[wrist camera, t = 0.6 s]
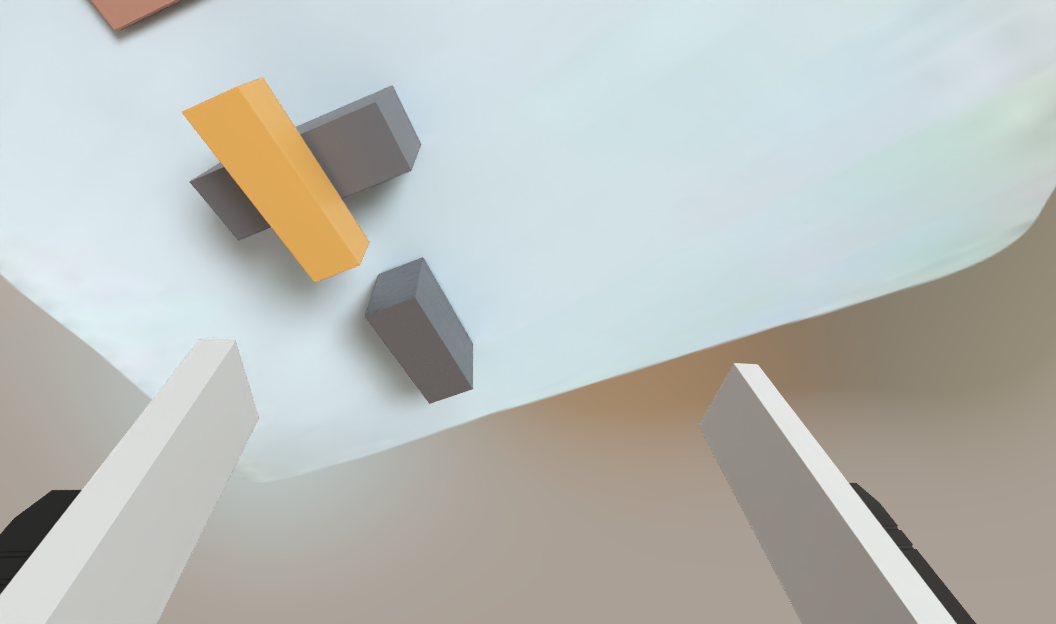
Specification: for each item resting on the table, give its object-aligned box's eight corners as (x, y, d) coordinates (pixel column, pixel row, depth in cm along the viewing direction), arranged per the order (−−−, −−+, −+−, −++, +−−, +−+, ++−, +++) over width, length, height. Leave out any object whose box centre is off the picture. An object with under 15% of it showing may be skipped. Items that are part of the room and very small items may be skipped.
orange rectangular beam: (212, 100, 23) (181, 112, 20) (263, 77, 22) (237, 86, 20) (328, 258, 28) (314, 282, 26) (369, 242, 28) (359, 265, 26)
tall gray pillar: (235, 153, 30) (189, 181, 25) (392, 85, 29) (375, 101, 24) (273, 204, 32) (238, 240, 28) (421, 144, 31) (411, 170, 26)
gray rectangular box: (379, 274, 36) (364, 316, 32) (423, 257, 36) (415, 297, 31) (434, 357, 42) (429, 403, 37) (472, 343, 42) (472, 389, 37)
